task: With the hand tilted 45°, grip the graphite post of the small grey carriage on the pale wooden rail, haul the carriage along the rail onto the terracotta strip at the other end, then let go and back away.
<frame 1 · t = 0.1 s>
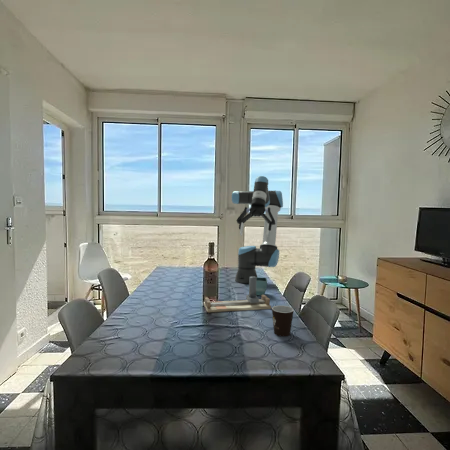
hand: (253, 235, 164), 36 cm above the table, tool tilted 35°, fingers open, 13 cm apart
flower pot: (258, 294, 185), on the table
carriage: (252, 288, 163), point 9 cm above the table, slide at 8.0 cm
rail: (237, 306, 162), on the table
coffee mug: (282, 332, 131), on the table
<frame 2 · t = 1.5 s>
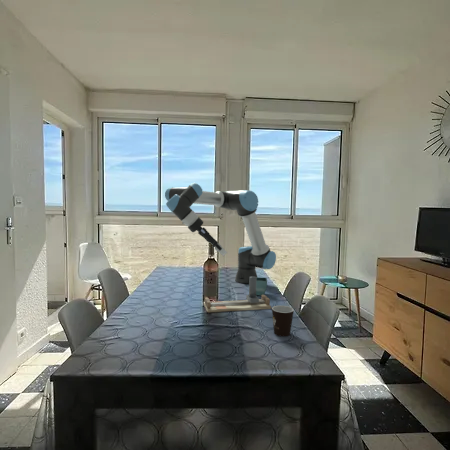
hand: (222, 252, 161), 27 cm above the table, tool tilted 45°, fingers open, 13 cm apart
nothing on the table moved.
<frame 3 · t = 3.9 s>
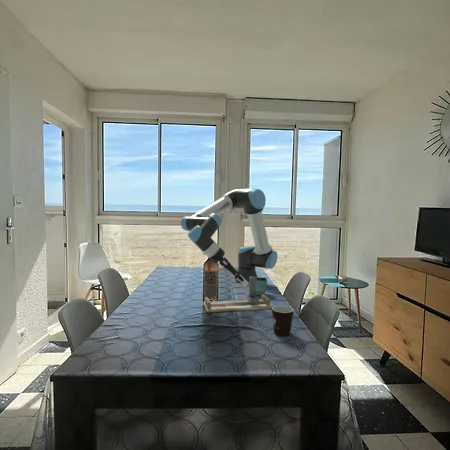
hand: (243, 281, 161), 13 cm above the table, tool tilted 45°, fingers open, 13 cm apart
nothing on the table moved.
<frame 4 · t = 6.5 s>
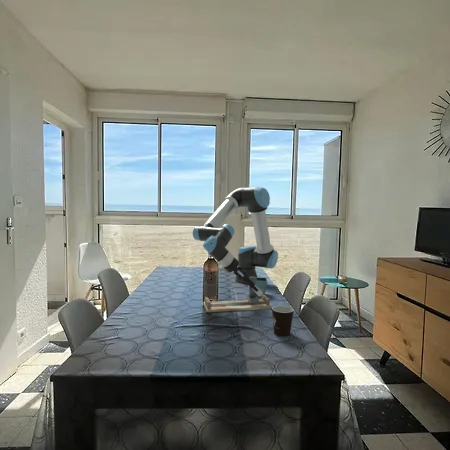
hand: (259, 293, 164), 6 cm above the table, tool tilted 45°, fingers closed on carriage, 4 cm apart
carriage: (252, 288, 163), point 9 cm above the table, slide at 8.0 cm, touching gripper
everything else where it was.
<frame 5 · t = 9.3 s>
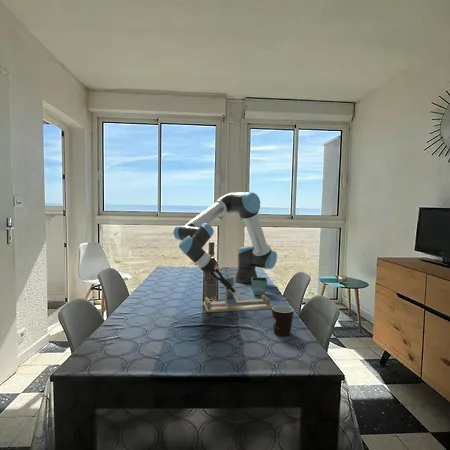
hand: (237, 294, 162), 6 cm above the table, tool tilted 45°, fingers closed on carriage, 4 cm apart
carriage: (230, 289, 161), point 9 cm above the table, slide at -3.8 cm, touching gripper
everything else where it was.
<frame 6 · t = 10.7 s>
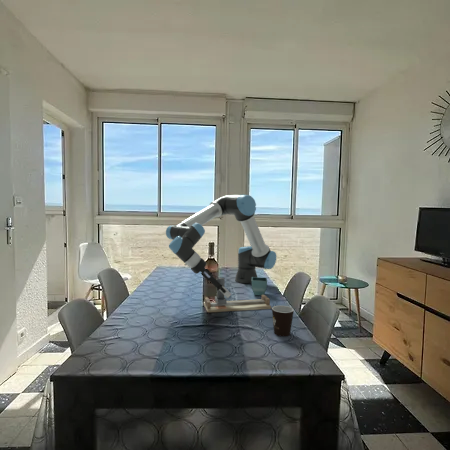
hand: (228, 294, 161), 6 cm above the table, tool tilted 45°, fingers closed on carriage, 4 cm apart
carriage: (220, 290, 160), point 9 cm above the table, slide at -8.5 cm, touching gripper
everything else where it was.
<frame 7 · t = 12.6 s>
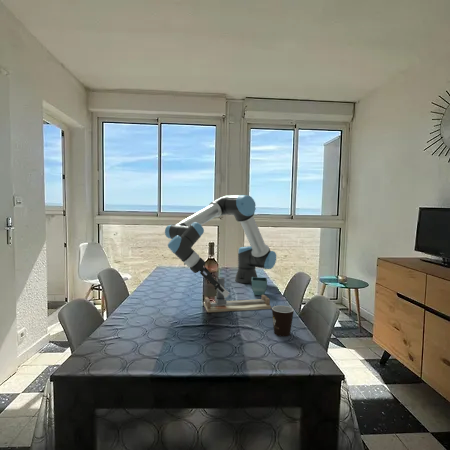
hand: (224, 291, 160), 8 cm above the table, tool tilted 45°, fingers open, 13 cm apart
carriage: (220, 290, 160), point 9 cm above the table, slide at -8.5 cm
everything else where it was.
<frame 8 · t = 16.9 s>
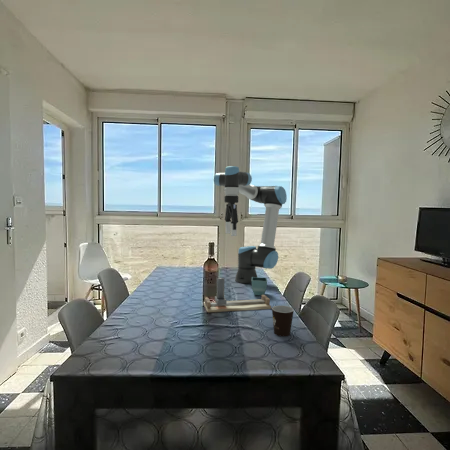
hand: (230, 234, 175), 35 cm above the table, tool pointing down, fingers open, 13 cm apart
nothing on the table moved.
at the end: carriage slide at -8.5 cm; the gripper is holding nothing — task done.
